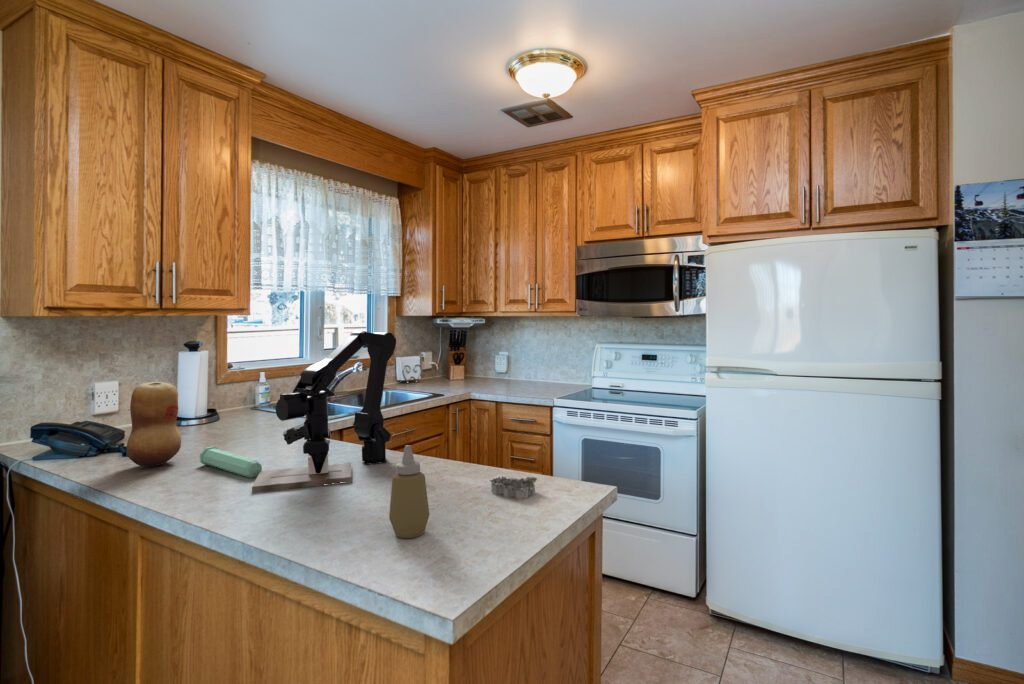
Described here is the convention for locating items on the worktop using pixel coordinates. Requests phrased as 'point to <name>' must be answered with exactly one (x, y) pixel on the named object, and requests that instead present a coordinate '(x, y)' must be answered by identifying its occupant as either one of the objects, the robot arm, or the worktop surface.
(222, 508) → the worktop surface
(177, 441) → the butternut squash
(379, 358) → the robot arm
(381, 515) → the worktop surface
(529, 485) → the egg carton
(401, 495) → the squeeze bottle
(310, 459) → the fader knob
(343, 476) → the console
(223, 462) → the container
